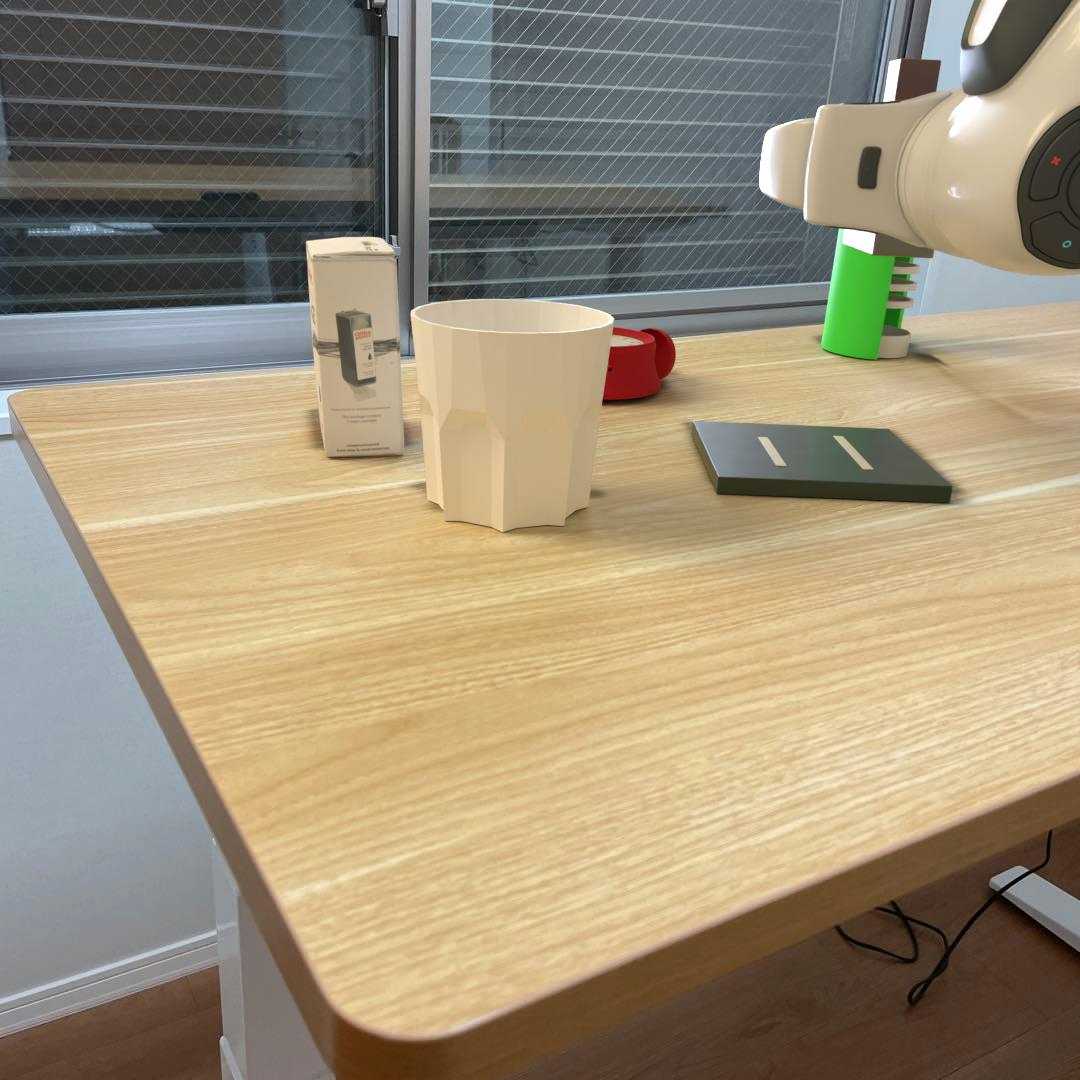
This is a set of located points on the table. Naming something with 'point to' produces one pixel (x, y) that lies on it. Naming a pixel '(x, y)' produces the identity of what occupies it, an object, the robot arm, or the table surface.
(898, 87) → the eraser
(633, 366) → the alarm clock
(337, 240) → the ink box
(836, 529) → the table surface
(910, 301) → the green hooked bin
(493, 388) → the cup
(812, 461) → the board
